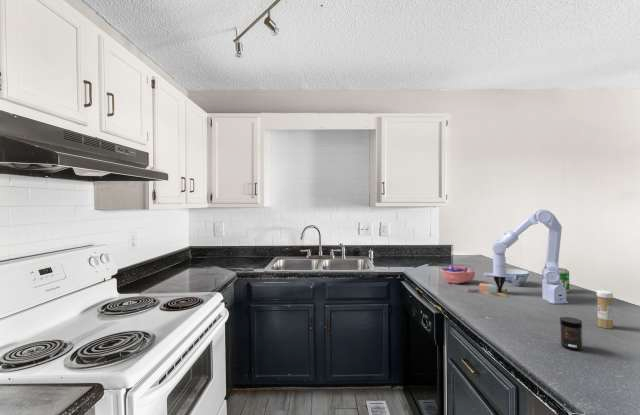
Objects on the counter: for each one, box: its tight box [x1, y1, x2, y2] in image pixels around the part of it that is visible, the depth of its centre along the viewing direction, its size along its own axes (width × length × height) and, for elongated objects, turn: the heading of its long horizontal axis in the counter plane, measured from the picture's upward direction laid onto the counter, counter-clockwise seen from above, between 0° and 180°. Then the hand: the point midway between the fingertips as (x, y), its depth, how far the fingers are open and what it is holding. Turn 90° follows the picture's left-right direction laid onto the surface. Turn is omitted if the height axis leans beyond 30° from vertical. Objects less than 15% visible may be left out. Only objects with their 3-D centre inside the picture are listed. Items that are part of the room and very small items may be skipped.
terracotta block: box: [478, 282, 489, 294], centre depth 167 cm, size 4×5×4 cm
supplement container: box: [559, 316, 584, 352], centre depth 104 cm, size 6×6×9 cm
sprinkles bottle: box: [596, 289, 614, 330], centre depth 120 cm, size 5×5×13 cm
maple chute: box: [467, 288, 509, 298], centre depth 167 cm, size 20×14×2 cm
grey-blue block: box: [487, 283, 498, 293], centre depth 165 cm, size 4×5×4 cm
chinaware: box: [505, 268, 530, 287], centre depth 184 cm, size 15×15×8 cm
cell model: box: [439, 264, 476, 285], centre depth 190 cm, size 17×20×11 cm
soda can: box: [559, 267, 571, 294], centre depth 167 cm, size 8×8×12 cm
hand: (499, 291), depth 164 cm, fingers closed
